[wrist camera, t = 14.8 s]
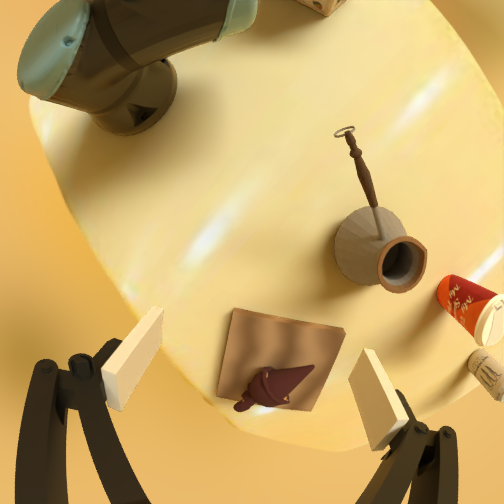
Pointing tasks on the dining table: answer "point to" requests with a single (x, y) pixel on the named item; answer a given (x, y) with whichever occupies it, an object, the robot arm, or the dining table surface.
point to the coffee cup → (473, 308)
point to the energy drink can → (488, 372)
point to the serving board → (278, 354)
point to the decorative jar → (322, 5)
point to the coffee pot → (376, 240)
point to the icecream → (272, 387)
